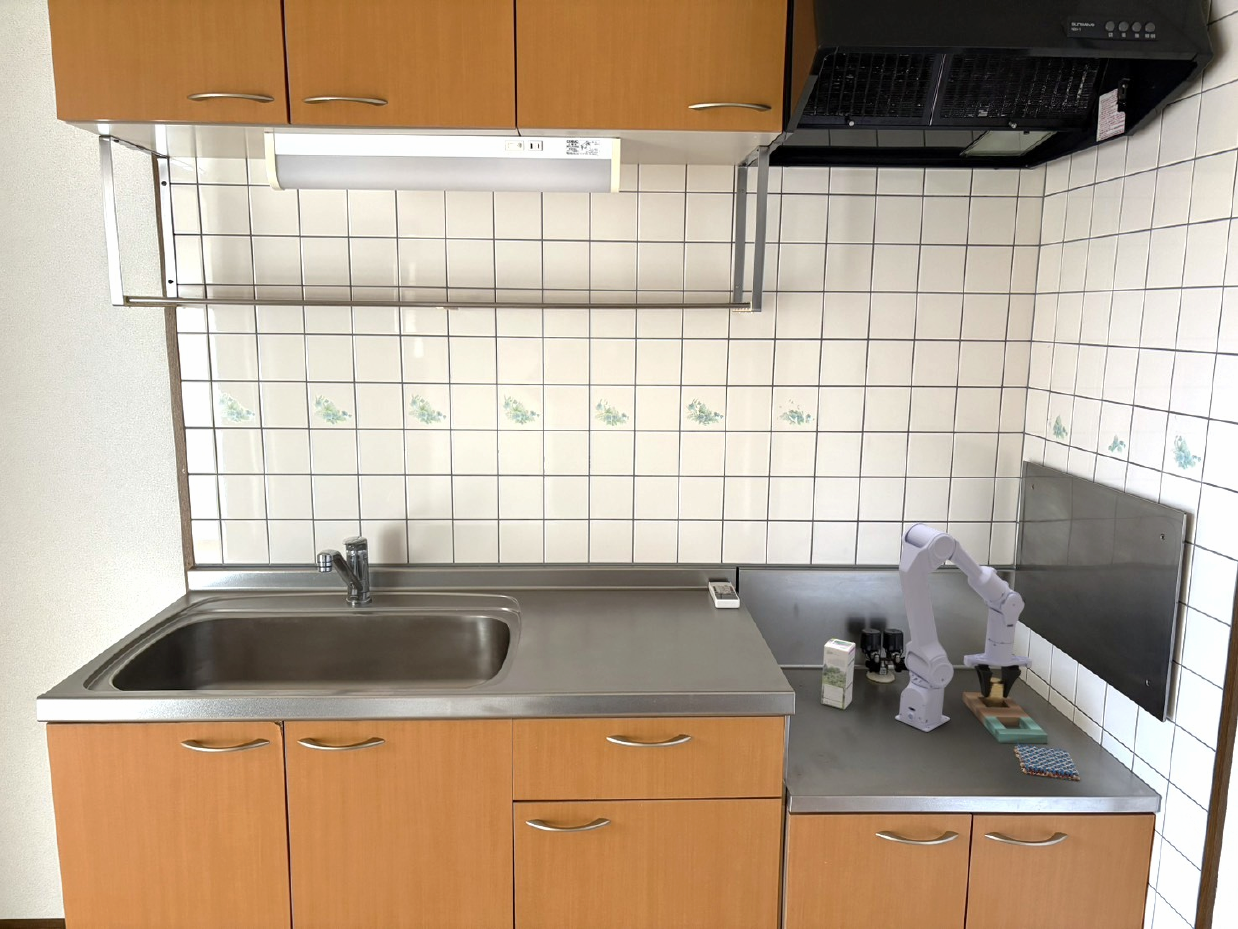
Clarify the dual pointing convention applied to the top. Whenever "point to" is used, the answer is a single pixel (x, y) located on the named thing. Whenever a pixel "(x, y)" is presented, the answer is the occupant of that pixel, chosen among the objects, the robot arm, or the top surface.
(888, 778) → the top surface
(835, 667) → the syrup box
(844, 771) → the top surface
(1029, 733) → the docking plate
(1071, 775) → the woven mat
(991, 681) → the brass pin
